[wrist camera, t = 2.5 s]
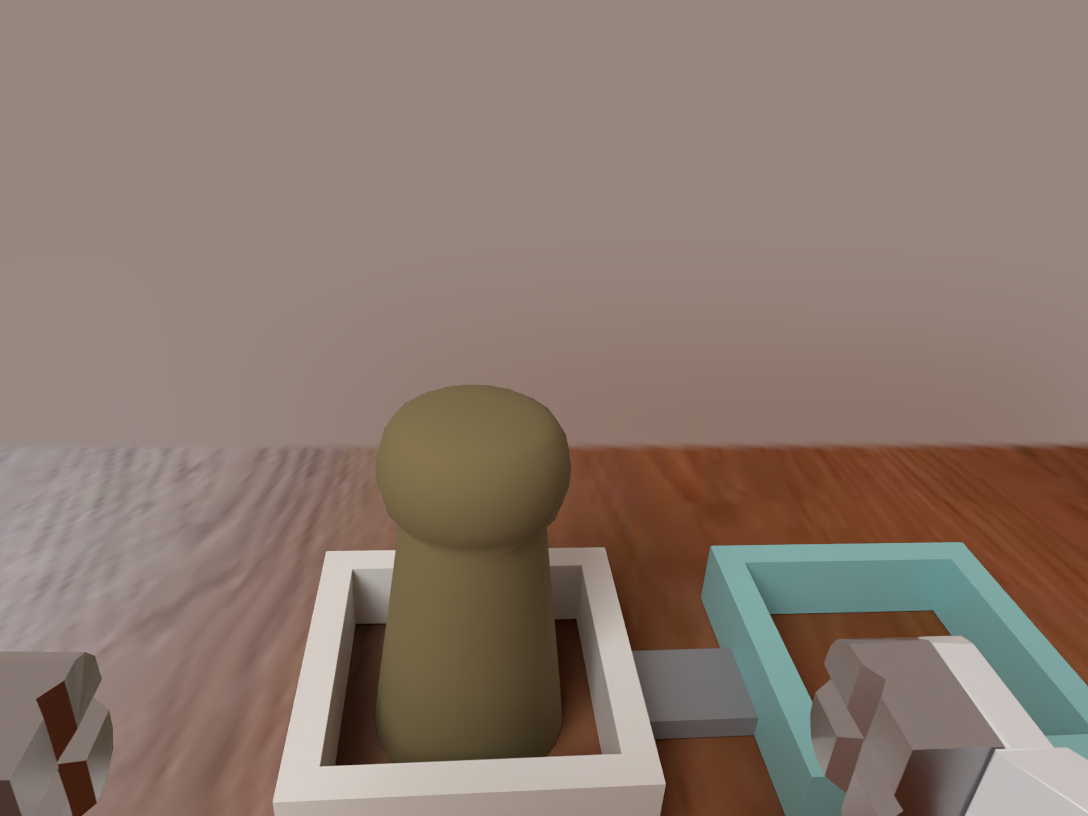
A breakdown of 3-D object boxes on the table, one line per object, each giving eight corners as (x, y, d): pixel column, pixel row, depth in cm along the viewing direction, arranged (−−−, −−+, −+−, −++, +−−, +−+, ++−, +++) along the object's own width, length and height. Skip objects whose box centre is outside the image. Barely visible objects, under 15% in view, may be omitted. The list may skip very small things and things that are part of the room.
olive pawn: (403, 631, 30) (394, 349, 24) (571, 653, 29) (599, 370, 24) (347, 774, 24) (321, 454, 19) (552, 804, 24) (582, 484, 19)
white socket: (700, 597, 32) (710, 545, 31) (793, 836, 23) (812, 777, 22) (331, 605, 31) (326, 551, 29) (281, 864, 22) (273, 802, 21)
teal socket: (943, 592, 33) (962, 542, 32) (1119, 819, 25) (1152, 761, 23) (700, 597, 32) (710, 545, 31) (793, 836, 23) (812, 777, 22)
